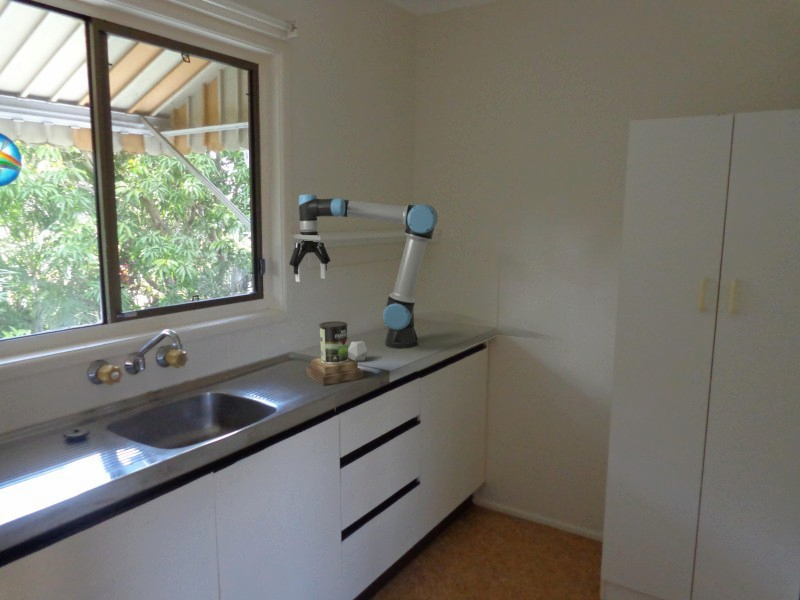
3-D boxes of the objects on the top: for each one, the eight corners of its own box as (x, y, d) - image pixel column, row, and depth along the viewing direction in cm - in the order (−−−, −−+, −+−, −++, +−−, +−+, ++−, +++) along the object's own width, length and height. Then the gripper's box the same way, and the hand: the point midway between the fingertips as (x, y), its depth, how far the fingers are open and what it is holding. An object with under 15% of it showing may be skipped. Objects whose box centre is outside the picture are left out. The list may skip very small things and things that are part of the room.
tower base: (344, 368, 230) (344, 353, 229) (363, 378, 216) (363, 362, 215) (306, 375, 222) (305, 359, 221) (323, 385, 208) (322, 369, 207)
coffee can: (354, 359, 219) (352, 322, 217) (335, 365, 211) (333, 327, 209) (334, 355, 225) (332, 320, 223) (315, 361, 217) (313, 324, 215)
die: (360, 365, 236) (372, 345, 237) (341, 355, 237) (354, 334, 238) (361, 367, 244) (373, 347, 245) (343, 357, 245) (355, 337, 246)
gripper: (326, 229, 261) (328, 276, 265) (279, 232, 244) (282, 282, 247) (337, 229, 256) (338, 277, 259) (290, 232, 238) (292, 283, 242)
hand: (311, 280), depth 253 cm, fingers open, 13 cm apart
